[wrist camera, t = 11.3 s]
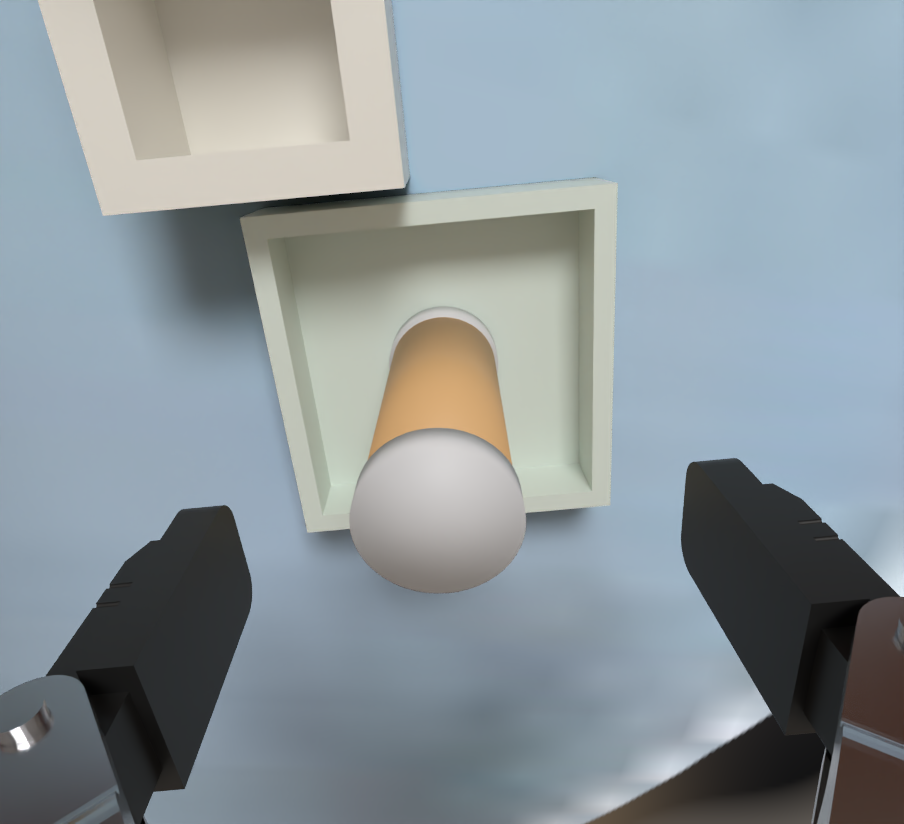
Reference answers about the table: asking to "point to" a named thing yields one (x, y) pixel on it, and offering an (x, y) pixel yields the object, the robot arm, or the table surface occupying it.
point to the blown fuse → (439, 462)
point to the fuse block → (231, 98)
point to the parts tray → (454, 285)
